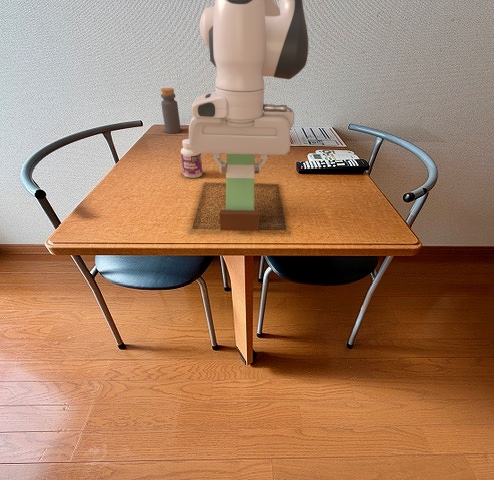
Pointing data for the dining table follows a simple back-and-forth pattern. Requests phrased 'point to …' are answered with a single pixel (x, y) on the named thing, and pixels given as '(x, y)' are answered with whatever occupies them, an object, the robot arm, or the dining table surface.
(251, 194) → the block
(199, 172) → the pill bottle
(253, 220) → the mat
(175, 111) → the bottle
